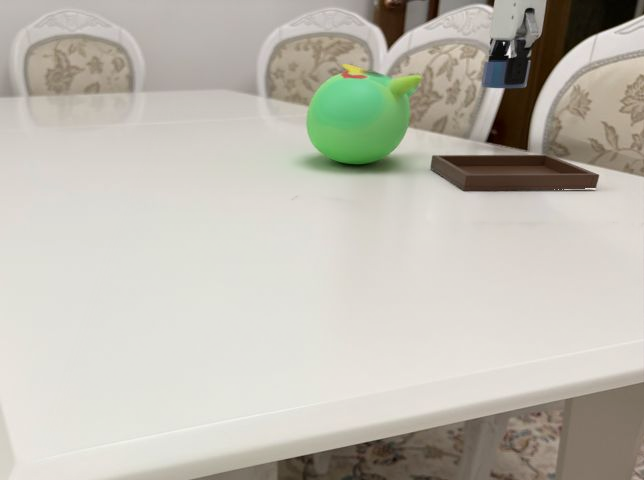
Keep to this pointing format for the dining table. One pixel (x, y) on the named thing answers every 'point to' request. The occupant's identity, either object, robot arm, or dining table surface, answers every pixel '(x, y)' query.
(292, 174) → the dining table surface
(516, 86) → the blue bowl
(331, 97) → the toy bird
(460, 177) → the serving tray
